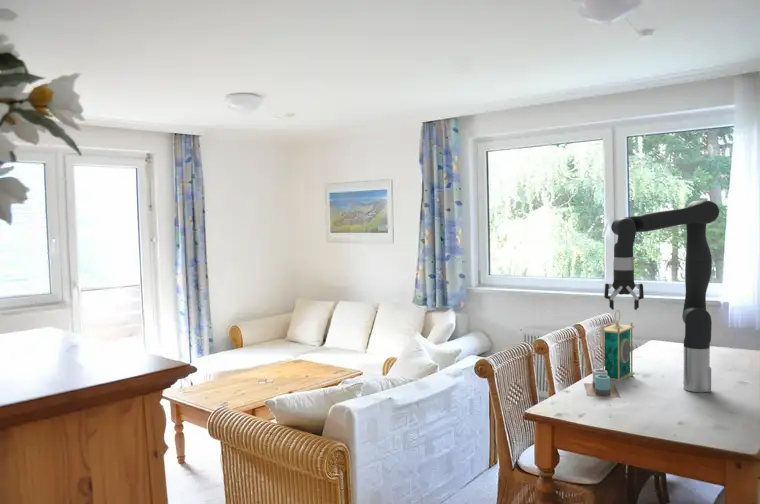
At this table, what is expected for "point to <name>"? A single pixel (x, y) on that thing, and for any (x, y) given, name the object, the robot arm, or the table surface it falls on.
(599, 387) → the teal sleeve
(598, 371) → the grey sleeve
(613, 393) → the brown peg stand
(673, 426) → the table surface
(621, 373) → the carriage clock
